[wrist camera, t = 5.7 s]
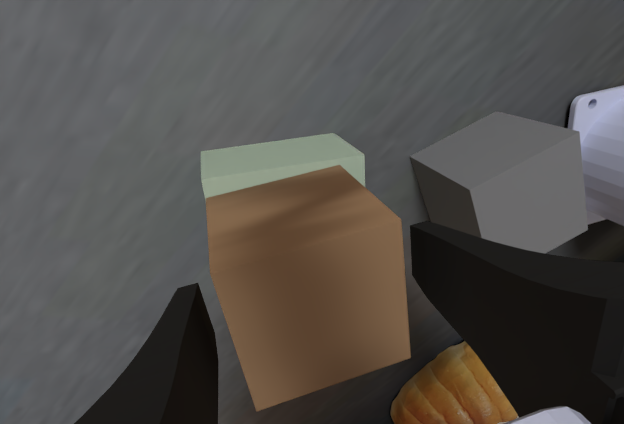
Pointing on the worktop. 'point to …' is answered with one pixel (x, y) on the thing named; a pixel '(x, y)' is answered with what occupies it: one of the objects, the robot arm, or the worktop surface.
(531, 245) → the charcoal cube
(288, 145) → the green base block
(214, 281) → the walnut cube
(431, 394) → the pastry
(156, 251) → the worktop surface
